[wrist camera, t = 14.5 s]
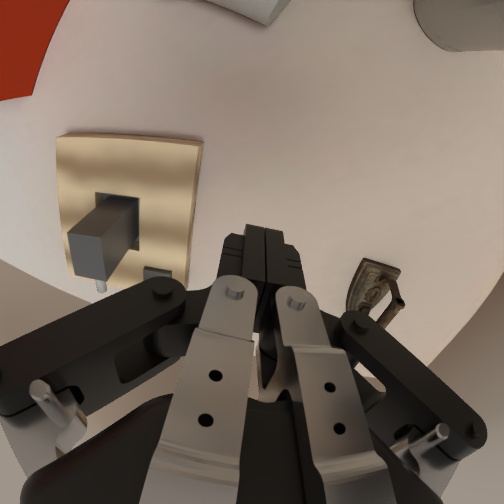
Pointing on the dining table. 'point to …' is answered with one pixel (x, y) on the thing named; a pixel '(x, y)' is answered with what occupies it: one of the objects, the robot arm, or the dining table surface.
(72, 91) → the dining table surface
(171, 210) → the socket board
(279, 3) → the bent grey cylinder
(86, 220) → the plug
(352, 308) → the clothes iron
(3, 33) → the file binder
